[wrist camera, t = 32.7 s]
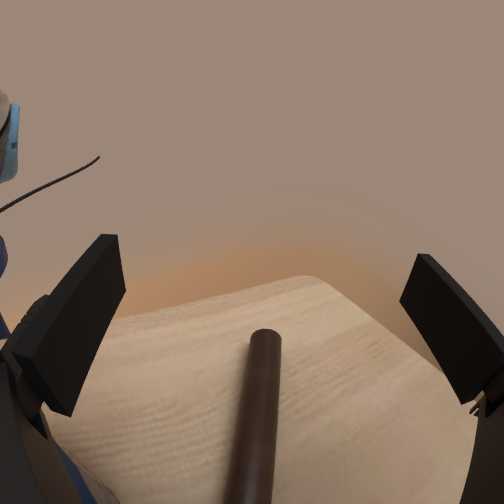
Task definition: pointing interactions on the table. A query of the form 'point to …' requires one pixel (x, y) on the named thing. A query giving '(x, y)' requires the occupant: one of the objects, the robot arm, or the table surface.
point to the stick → (256, 423)
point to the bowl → (85, 480)
